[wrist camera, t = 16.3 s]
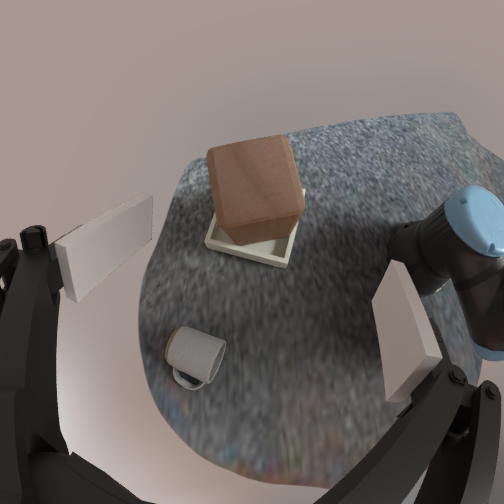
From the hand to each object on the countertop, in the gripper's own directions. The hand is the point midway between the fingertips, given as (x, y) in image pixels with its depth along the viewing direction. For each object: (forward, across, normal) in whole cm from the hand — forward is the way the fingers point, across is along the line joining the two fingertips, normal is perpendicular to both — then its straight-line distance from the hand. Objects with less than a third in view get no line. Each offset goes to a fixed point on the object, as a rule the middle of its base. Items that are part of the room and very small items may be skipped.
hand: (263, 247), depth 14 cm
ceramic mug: (+16, -8, -33) cm, 37 cm away
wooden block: (+34, -5, -12) cm, 36 cm away
